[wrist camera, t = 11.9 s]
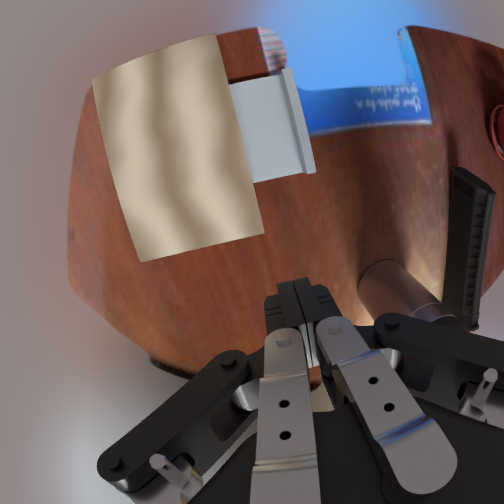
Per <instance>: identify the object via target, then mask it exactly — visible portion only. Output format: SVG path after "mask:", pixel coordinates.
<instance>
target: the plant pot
mask: <svg viewBox="0 0 504 504" xmlns="http://www.w3.org/2000/svg"><path fill="white" fill-rule="evenodd" d="M489 132H490V138H491V141H492V144H493V147H494V149H495V151H496V153H497V154H498V156H499V157H500V158H501V159H502V160H504V106H503V105H498V106H496V107H495V108H494V109H493V110H492V112H491V115H490V120H489Z"/></svg>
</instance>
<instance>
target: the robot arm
mask: <svg viewBox="0 0 504 504" xmlns="http://www.w3.org/2000/svg"><path fill="white" fill-rule="evenodd" d="M292 282H293V284H292ZM276 285H277V289H278V294H276V295H272V296H267V298H266V300H265V302H264V310H265V318H266V327H267V337H266V339H265V345H264V346H263V347H262V348H261V349H259V350H258V351H256V352H254V353H252V354H249V355H247V356H246V354H245V353H244V352H242V351H239V350H229V351H225V352H222V353H220V354H219V355H217V356H216V357H215V358H214V359H212V360H211V361H210V362H209V363H208V364H207V365H206V366H205V367H204V368H203V369H201V370H200V371H199V372H198V373H197V374H196V375H195V376H194V377H193V378H192V379H190V380H189V381H188V382H187V383H186V384H185V385H184V386H183V387H181V388H180V389H179V390H178V391H177V392H176V393H175V394H173V395H172V396H171V397H170V398H169V399H168V400H167V401H165V402H164V403H163V404H162V405H161V406H160V407H158V408H157V409H156V410H155V411H154V412H152V413H151V414H150V415H149V416H148V417H146V418H145V419H144V420H143V421H142V422H141V423H139V424H138V425H137V426H136V427H134V428H133V429H132V430H131V431H130V432H128V433H127V434H126V435H125V436H123V437H122V438H121V439H120V440H118V441H117V442H116V443H114V444H113V445H112V446H111V447H109V448H108V449H107V450H106V451H104V452H103V453H102V454H101V455H100V457H99V459H98V462H97V471H98V473H99V475H100V476H101V477H102V478H103V479H105V480H106V481H107V482H109V483H110V484H111V485H113V486H114V487H115V488H116V489H117V490H119V491H120V492H122V493H123V494H125V495H126V496H128V497H129V498H131V500H133V502H134V503H135V504H504V341H500V340H496V339H492V338H488V337H484V336H480V335H477V334H472V333H469V332H468V330H467V328H466V327H465V326H464V325H463V323H462V322H461V321H460V320H459V319H457V317H456V316H455V315H453V314H452V313H451V312H450V311H449V310H448V309H447V308H446V307H445V306H444V305H443V304H442V303H441V302H440V301H439V300H438V299H437V298H436V297H435V296H434V295H433V294H432V293H430V292H429V291H428V290H427V289H426V288H425V287H424V286H423V285H422V284H421V283H420V282H419V281H417V280H416V279H415V278H414V277H413V276H412V275H411V274H410V273H409V272H407V271H406V270H405V269H404V268H403V267H402V266H400V265H399V264H398V263H397V262H395V261H392V260H383V261H380V262H377V263H375V264H373V265H372V266H371V267H370V268H368V269H367V271H366V272H365V273H364V274H363V276H362V277H361V280H360V282H359V286H358V295H359V298H360V300H361V302H362V303H363V305H364V306H365V308H366V309H367V311H368V312H369V314H370V315H371V317H372V318H373V320H374V321H375V322H374V325H373V326H356V325H353V324H352V322H351V321H350V320H349V319H347V318H345V317H343V316H342V314H341V312H340V310H339V309H338V307H337V305H336V303H335V301H334V299H333V297H332V296H331V294H330V292H329V290H328V288H326V287H324V286H323V285H321V284H319V285H315V286H311V283H310V281H309V279H308V277H304V278H300V279H295V280H292V281H287V282H282V283H278V284H276ZM310 356H311V357H310ZM311 360H312V363H313V367H314V366H318V365H319V366H320V369H321V377H322V381H323V384H324V386H325V388H326V391H327V393H328V396H329V398H330V400H331V403H332V405H333V408H334V410H333V411H330V412H313V407H312V400H311V391H310V384H309V378H310V373H309V368H310V367H312V364H311ZM257 416H258V426H257V432H256V433H255V434H253V435H252V436H250V437H249V438H248V439H246V440H245V441H244V442H243V443H242V444H241V445H240V446H239V447H238V448H237V450H236V451H235V452H234V453H233V454H232V455H231V457H230V458H229V459H228V460H227V461H226V462H225V464H224V465H223V466H222V467H221V468H220V469H219V470H218V471H217V472H216V474H215V475H214V476H213V477H212V478H211V479H210V480H209V481H208V482H207V483H206V484H205V485H204V486H203V478H202V475H203V474H204V473H206V471H208V470H209V468H211V467H212V466H213V465H214V463H215V462H216V461H217V460H218V459H219V458H220V457H221V456H222V455H223V454H224V453H225V452H226V451H227V450H228V449H229V448H230V446H232V444H233V443H234V442H235V441H236V440H237V439H238V438H239V437H240V436H241V435H242V433H243V432H244V431H245V430H246V429H247V428H248V427H249V426H250V424H251V423H252V422H253V421H254V420H255V419H256V417H257Z"/></svg>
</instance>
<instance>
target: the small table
mask: <svg viewBox="0 0 504 504" xmlns="http://www.w3.org/2000/svg"><path fill="white" fill-rule="evenodd" d="M92 84H93V91H94V97H95V102H96V108H97V113H98V118H99V123H100V128H101V132H102V137H103V141H104V145H105V149H106V154H107V158H108V161H109V165H110V169H111V173H112V176H113V180H114V184H115V187H116V191H117V194H118V197H119V201H120V204H121V207H122V210H123V213H124V216H125V220H126V223H127V226H128V229H129V231H130V234H131V237H132V240H133V243H134V246H135V248H136V251H137V254H138V257H139V259H140V262H144V261H149V260H153V259H157V258H161V257H165V256H169V255H173V254H177V253H181V252H186V251H190V250H194V249H198V248H202V247H207V246H211V245H215V244H220V243H224V242H228V241H232V240H237V239H241V238H245V237H250V236H254V235H259V234H263V233H264V228H263V224H262V220H261V215H260V211H259V207H258V202H257V198H256V194H255V190H254V185H253V181H252V177H251V173H250V169H249V164H248V160H247V156H246V152H245V148H244V144H243V140H242V136H241V132H240V127H239V123H238V119H237V115H236V111H235V107H234V103H233V99H232V95H231V92H230V88H229V84H228V80H227V76H226V72H225V68H224V64H223V60H222V57H221V53H220V49H219V45H218V42H217V38H216V34H215V33H212V34H208V35H205V36H201V37H197V38H194V39H190V40H187V41H183V42H180V43H177V44H174V45H171V46H168V47H165V48H162V49H159V50H156V51H154V52H151V53H149V54H146V55H143V56H141V57H138V58H136V59H133V60H131V61H129V62H126V63H124V64H122V65H120V66H118V67H115V68H113V69H111V70H109V71H107V72H105V73H103V74H101V75H99V76H97V77H95V78H93V79H92Z"/></svg>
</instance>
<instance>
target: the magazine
mask: <svg viewBox="0 0 504 504" xmlns="http://www.w3.org/2000/svg"><path fill="white" fill-rule="evenodd" d="M452 172H453V173H452V193H451V206H450V218H449V231H448V245H447V260H446V284H445V302H444V304H445V307H446V308H447V309H448V310H449V311H450V312H451V313H452V314H453V315H455V316H456V317H457V319H459V320H460V321H461V322H462V323H463V325H464V326H465V327H466V328H467V330H468V332H469V333H471V332H470V331H475V330H477V329H478V328H479V325H478V318H479V307H480V298H481V288H482V281H483V273H484V265H485V258H486V252H487V245H488V238H489V229H490V222H491V216H492V210H493V205H494V200H495V197H496V192H495V191H493V190H492V188H491V187H490V186H489V185H488V184H487V183H485V182H484V181H483V180H481V179H480V178H478V177H477V176H475V175H474V174H472V173H471V172H470V171H468V170H467V169H465V168H461V167H454V168H452ZM469 330H470V331H469Z"/></svg>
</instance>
